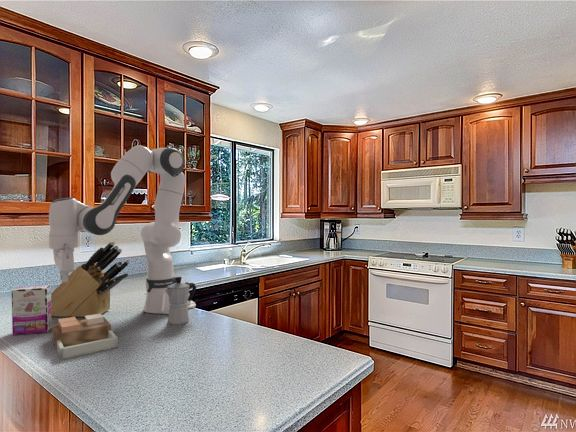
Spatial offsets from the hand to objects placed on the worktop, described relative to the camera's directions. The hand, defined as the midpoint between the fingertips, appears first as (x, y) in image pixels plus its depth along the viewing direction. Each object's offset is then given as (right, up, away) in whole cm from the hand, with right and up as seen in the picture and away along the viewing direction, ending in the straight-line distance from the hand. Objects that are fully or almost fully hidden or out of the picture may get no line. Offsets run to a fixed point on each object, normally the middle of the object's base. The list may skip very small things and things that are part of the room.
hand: (64, 281), depth 130 cm
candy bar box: (-13, -19, +2) cm, 23 cm away
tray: (+16, -20, -13) cm, 28 cm away
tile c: (+8, -15, -10) cm, 19 cm away
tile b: (+5, -14, -6) cm, 16 cm away
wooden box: (+9, -19, -5) cm, 22 cm away
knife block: (-6, -19, +24) cm, 31 cm away
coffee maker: (+37, -19, +16) cm, 45 cm away
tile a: (+12, -14, -2) cm, 19 cm away
